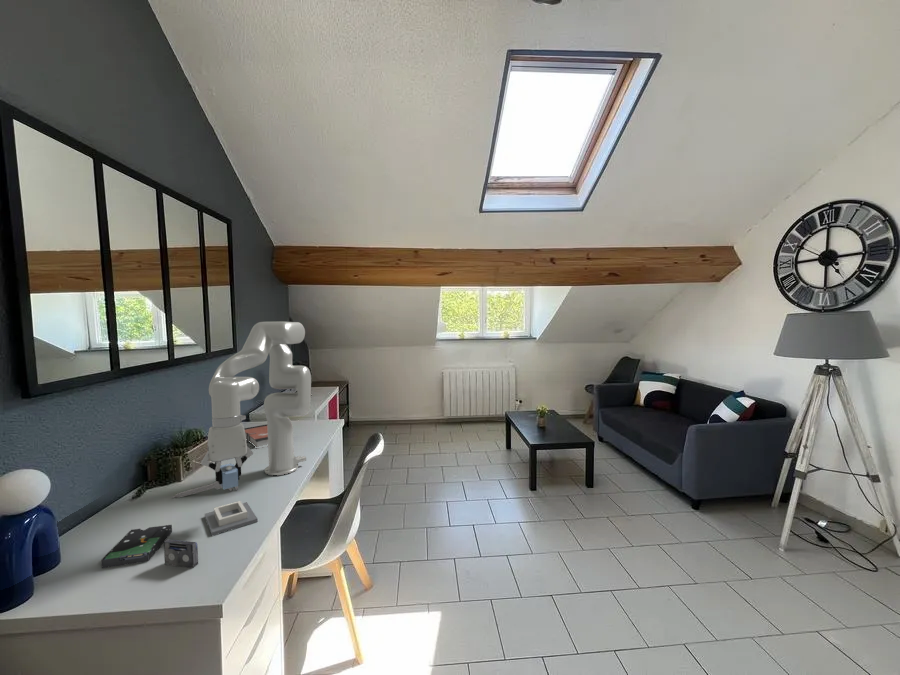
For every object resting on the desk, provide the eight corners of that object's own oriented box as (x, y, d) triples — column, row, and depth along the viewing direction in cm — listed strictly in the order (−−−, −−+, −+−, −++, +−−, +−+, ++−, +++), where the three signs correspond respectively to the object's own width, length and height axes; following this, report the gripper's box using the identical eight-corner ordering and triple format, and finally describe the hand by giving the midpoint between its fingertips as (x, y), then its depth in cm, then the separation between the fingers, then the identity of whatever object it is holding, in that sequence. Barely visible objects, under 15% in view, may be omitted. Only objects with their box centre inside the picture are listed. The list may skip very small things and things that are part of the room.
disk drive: (130, 539, 112) (100, 570, 98) (130, 529, 112) (100, 559, 97) (172, 533, 115) (149, 563, 100) (172, 523, 115) (149, 552, 100)
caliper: (238, 490, 143) (237, 473, 142) (237, 491, 141) (236, 474, 141) (173, 497, 137) (172, 480, 137) (171, 499, 136) (171, 481, 135)
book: (240, 437, 206) (240, 428, 206) (275, 431, 218) (274, 422, 217) (254, 449, 186) (254, 439, 186) (292, 442, 198) (291, 432, 198)
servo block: (233, 478, 125) (232, 459, 125) (239, 487, 118) (238, 467, 118) (218, 481, 122) (218, 462, 122) (224, 491, 115) (223, 471, 115)
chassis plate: (246, 505, 130) (246, 496, 130) (257, 521, 119) (257, 512, 119) (204, 516, 123) (204, 507, 123) (211, 536, 112) (211, 525, 112)
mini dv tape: (198, 564, 99) (197, 541, 99) (193, 568, 98) (192, 544, 97) (170, 561, 100) (168, 538, 100) (164, 565, 99) (163, 541, 99)
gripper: (253, 415, 128) (255, 470, 128) (192, 423, 117) (194, 484, 118) (259, 419, 122) (261, 477, 123) (195, 429, 111) (198, 492, 112)
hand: (228, 480), depth 120 cm, fingers closed on servo block, 4 cm apart
